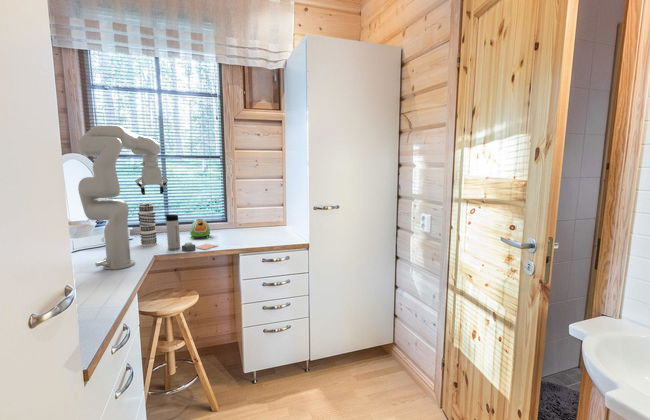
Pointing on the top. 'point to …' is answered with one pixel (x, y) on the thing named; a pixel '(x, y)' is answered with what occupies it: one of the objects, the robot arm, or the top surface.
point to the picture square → (205, 246)
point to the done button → (188, 244)
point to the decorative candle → (147, 224)
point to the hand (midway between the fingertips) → (152, 194)
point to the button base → (188, 248)
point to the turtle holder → (199, 228)
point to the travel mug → (173, 232)
